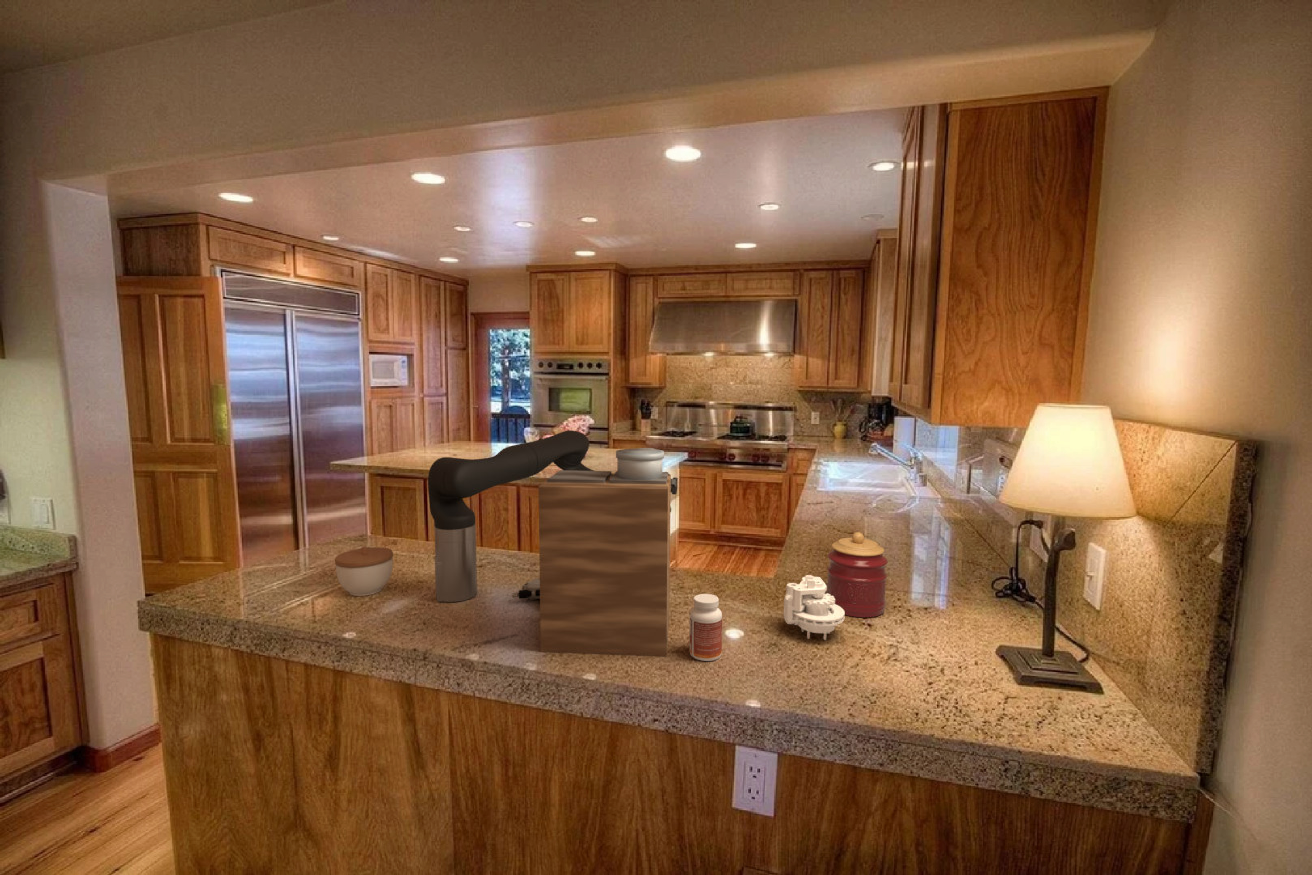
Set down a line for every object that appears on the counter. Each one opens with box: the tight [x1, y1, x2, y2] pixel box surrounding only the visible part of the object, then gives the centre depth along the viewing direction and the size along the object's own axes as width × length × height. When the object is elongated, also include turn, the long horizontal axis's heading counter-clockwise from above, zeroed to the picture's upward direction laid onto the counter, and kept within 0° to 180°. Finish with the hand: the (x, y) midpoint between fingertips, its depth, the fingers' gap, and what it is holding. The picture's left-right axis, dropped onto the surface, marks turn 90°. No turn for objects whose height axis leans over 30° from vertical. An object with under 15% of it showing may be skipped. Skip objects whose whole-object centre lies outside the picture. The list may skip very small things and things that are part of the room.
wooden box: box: [538, 469, 672, 657], centre depth 115 cm, size 16×24×33 cm, turn 87°
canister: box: [825, 531, 889, 618], centre depth 131 cm, size 13×13×18 cm
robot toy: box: [511, 577, 540, 601], centre depth 135 cm, size 12×4×15 cm
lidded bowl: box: [334, 545, 394, 597], centre depth 139 cm, size 13×13×11 cm
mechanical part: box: [783, 574, 846, 641], centre depth 117 cm, size 11×12×12 cm
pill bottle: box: [688, 593, 723, 662], centre depth 108 cm, size 6×6×11 cm
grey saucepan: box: [615, 447, 665, 480], centre depth 121 cm, size 23×10×5 cm, turn 177°
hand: (647, 475), depth 137 cm, fingers open, 8 cm apart
